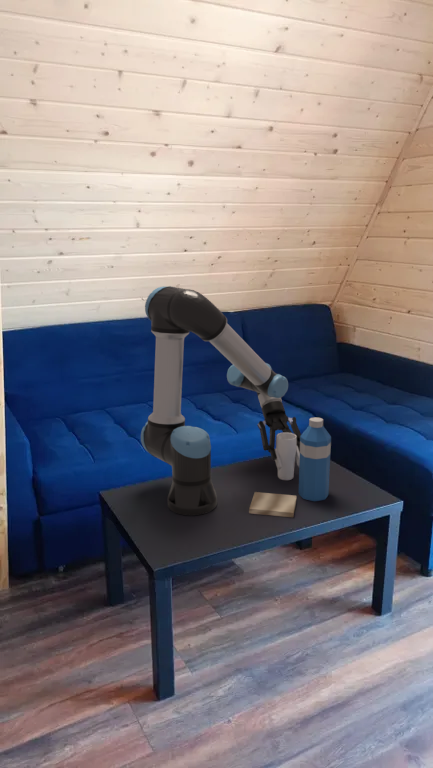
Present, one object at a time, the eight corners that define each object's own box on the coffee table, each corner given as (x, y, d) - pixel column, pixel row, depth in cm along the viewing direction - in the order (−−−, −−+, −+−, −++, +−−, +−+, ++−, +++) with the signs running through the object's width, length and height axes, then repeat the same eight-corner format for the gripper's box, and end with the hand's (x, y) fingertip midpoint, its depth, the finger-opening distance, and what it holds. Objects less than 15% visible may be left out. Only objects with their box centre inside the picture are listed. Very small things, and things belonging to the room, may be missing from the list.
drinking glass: (297, 474, 198) (298, 433, 194) (293, 483, 192) (294, 440, 187) (278, 472, 200) (278, 431, 196) (273, 480, 194) (273, 438, 190)
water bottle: (327, 488, 188) (330, 414, 181) (329, 501, 179) (333, 425, 172) (298, 487, 189) (300, 414, 182) (299, 500, 180) (301, 424, 173)
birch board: (249, 513, 173) (249, 508, 172) (254, 496, 183) (254, 492, 183) (293, 517, 170) (293, 512, 169) (296, 500, 180) (296, 495, 180)
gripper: (294, 407, 207) (313, 467, 197) (242, 413, 202) (259, 475, 191) (301, 396, 201) (321, 458, 191) (247, 402, 195) (265, 466, 185)
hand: (290, 466), depth 191 cm, fingers closed on drinking glass, 7 cm apart
